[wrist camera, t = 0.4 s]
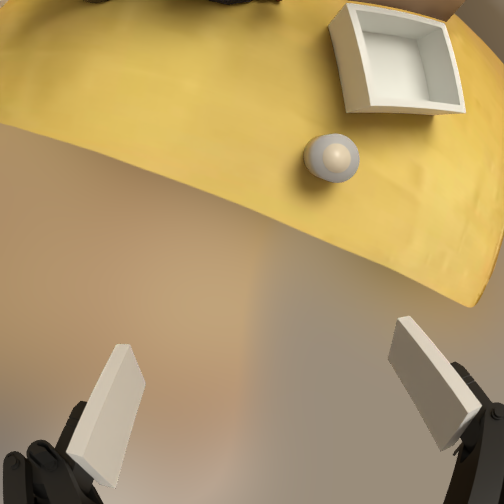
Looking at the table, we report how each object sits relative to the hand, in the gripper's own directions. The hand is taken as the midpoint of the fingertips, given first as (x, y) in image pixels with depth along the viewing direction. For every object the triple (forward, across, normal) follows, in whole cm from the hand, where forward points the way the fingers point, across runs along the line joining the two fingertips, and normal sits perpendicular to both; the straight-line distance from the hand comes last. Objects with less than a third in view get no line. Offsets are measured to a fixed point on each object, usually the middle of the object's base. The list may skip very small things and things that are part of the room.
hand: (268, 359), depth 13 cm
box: (+28, +22, +22) cm, 42 cm away
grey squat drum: (+28, +11, +8) cm, 31 cm away
